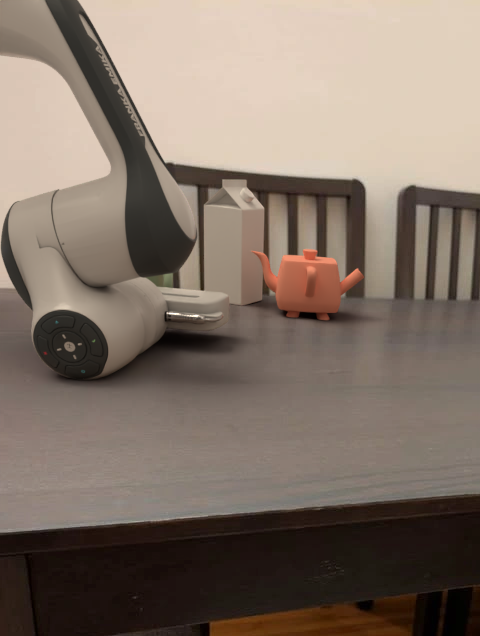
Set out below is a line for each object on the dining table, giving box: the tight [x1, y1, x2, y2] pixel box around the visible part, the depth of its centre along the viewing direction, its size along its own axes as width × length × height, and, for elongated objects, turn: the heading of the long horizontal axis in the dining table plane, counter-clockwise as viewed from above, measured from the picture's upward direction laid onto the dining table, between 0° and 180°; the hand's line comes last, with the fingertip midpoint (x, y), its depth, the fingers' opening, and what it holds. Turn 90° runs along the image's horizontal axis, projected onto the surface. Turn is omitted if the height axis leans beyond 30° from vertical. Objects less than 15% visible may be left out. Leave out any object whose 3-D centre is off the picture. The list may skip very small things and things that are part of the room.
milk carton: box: [203, 179, 265, 306], centre depth 119 cm, size 7×7×19 cm
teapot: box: [252, 248, 365, 321], centre depth 115 cm, size 14×12×10 cm
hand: (162, 293), depth 96 cm, fingers closed
